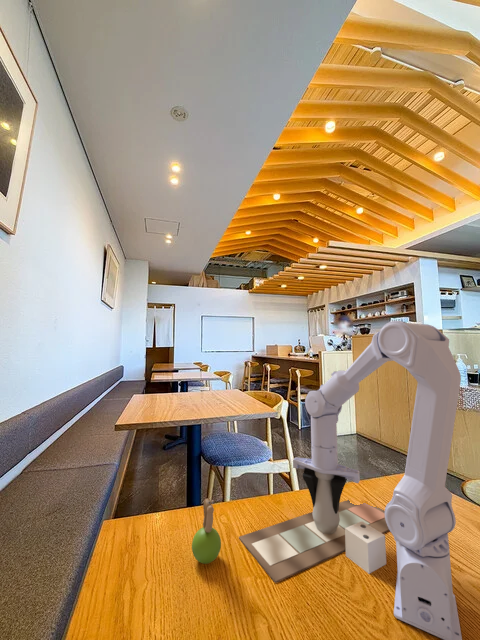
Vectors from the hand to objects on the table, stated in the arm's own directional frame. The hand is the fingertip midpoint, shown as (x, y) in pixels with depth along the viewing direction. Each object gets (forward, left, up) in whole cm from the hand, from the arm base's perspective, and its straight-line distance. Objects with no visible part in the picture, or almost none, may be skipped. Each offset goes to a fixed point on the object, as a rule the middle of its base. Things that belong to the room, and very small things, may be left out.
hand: (325, 508), depth 61 cm
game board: (0, 0, -4) cm, 4 cm away
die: (-5, -9, -5) cm, 11 cm away
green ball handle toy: (-22, +16, -5) cm, 28 cm away
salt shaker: (0, 0, -4) cm, 4 cm away
